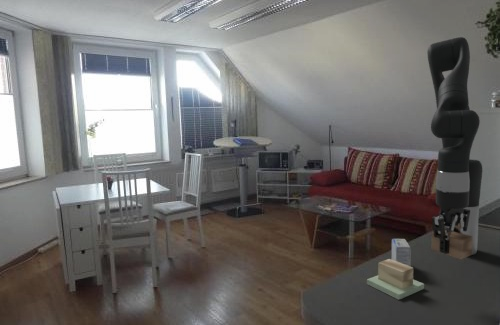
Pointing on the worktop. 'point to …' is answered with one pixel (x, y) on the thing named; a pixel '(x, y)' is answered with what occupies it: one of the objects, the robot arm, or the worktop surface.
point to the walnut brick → (455, 245)
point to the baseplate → (395, 288)
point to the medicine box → (401, 251)
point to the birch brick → (395, 273)
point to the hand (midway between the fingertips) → (450, 249)
